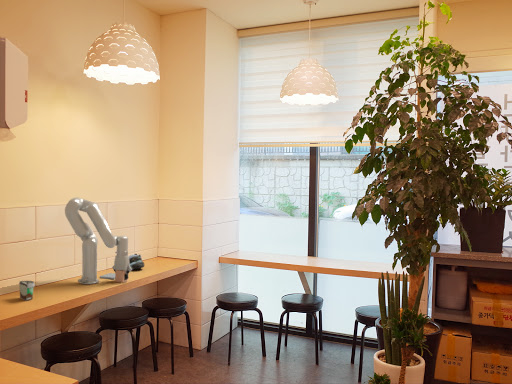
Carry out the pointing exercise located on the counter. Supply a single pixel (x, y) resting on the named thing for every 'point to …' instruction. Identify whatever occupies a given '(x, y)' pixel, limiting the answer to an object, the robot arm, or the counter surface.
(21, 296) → the food container
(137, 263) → the lucky cat figurine
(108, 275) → the slate board
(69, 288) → the counter surface
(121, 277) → the peach rectangular block
